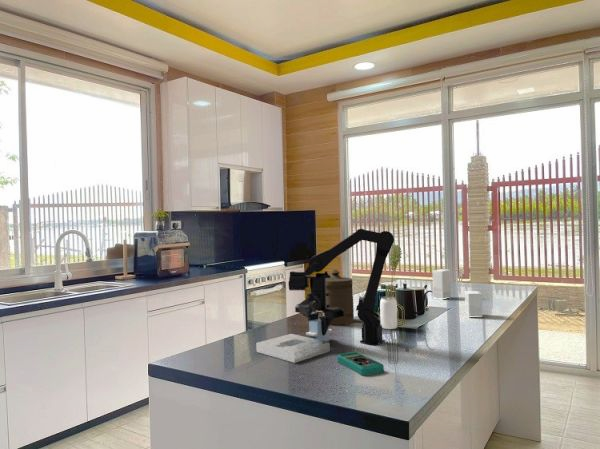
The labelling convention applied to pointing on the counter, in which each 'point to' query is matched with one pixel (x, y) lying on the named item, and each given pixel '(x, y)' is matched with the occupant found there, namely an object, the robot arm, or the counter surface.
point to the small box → (473, 303)
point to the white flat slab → (293, 347)
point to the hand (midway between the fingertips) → (319, 334)
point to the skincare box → (441, 283)
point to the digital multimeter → (360, 363)
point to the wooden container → (340, 297)
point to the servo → (317, 330)
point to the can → (388, 312)
